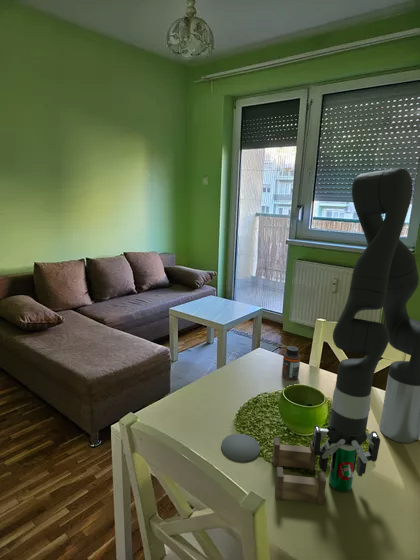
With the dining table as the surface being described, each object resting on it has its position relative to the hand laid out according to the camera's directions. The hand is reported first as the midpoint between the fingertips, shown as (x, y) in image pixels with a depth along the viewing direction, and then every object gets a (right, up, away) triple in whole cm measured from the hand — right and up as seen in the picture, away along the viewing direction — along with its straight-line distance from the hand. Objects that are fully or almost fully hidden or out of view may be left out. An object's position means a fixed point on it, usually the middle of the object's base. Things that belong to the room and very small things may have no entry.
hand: (341, 471), depth 82 cm
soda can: (0, -4, +1) cm, 4 cm away
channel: (-10, -3, +2) cm, 10 cm away
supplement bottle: (-1, +8, +50) cm, 50 cm away
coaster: (-22, 0, +12) cm, 25 cm away
